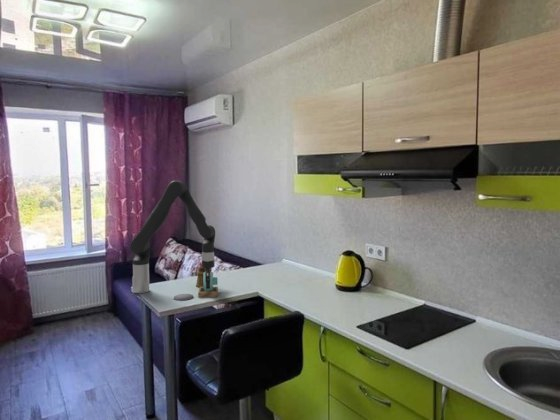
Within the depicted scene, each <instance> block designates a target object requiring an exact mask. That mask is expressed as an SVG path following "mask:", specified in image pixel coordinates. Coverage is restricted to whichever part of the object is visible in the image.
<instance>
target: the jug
mask: <svg viewBox="0 0 560 420" xmlns="http://www.w3.org/2000/svg"><path fill="white" fill-rule="evenodd" d="M203 278H204V292H210V291H213V287H214V286H217V285H218V276H215V277H214V272H213V271H212V273H211V278H210V289H206V282H205V281H206V278H205V272H204V273H203ZM207 280H209V279H207Z"/></svg>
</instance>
